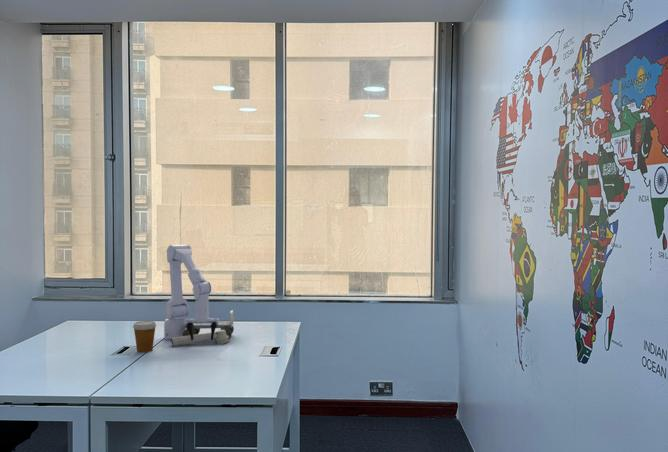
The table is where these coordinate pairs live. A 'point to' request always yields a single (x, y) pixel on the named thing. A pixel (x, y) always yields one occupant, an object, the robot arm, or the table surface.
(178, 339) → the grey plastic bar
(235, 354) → the table surface
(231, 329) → the trolley
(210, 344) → the table surface
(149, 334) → the disposable coffee cup
